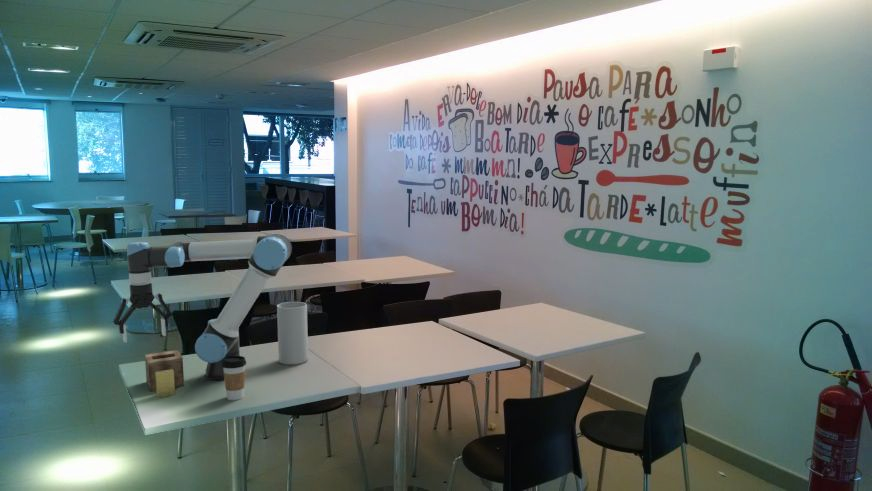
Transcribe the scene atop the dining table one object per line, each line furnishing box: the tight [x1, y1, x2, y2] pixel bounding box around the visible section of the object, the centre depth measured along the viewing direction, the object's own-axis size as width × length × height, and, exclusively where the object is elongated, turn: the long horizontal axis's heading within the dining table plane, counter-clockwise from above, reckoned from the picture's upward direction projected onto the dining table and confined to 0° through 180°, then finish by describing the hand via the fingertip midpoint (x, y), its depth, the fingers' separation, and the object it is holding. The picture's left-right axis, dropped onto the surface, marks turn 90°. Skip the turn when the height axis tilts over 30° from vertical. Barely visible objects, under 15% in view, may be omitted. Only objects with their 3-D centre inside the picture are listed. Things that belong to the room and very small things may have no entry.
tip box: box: [144, 349, 185, 392], centre depth 235 cm, size 12×12×11 cm
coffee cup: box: [222, 355, 247, 401], centre depth 220 cm, size 8×8×15 cm
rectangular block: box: [155, 369, 176, 399], centre depth 223 cm, size 6×3×9 cm, turn 121°
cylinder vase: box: [276, 301, 309, 366], centre depth 262 cm, size 12×12×25 cm
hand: (144, 338), depth 229 cm, fingers open, 13 cm apart
